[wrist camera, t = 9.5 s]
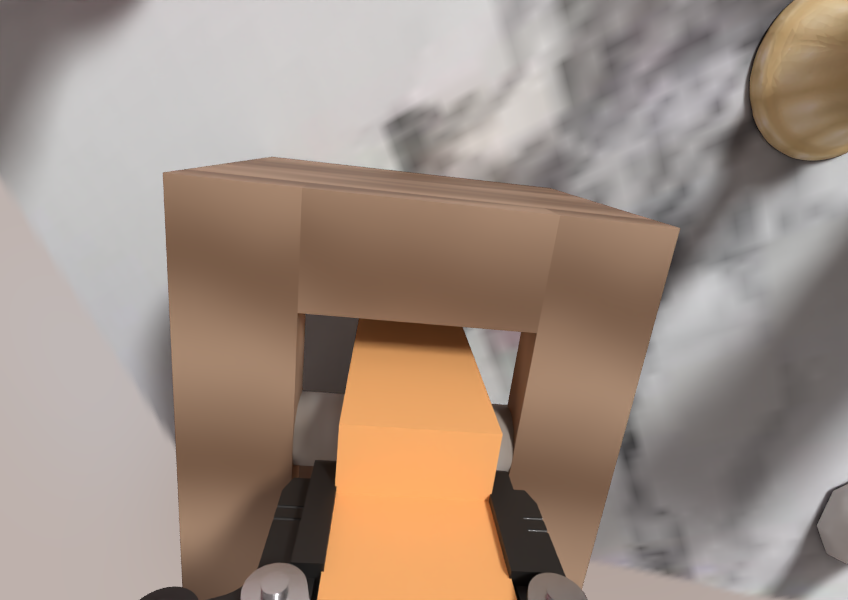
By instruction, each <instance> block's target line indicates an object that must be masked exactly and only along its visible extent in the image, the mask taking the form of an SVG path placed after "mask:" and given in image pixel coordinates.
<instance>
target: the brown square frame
mask: <svg viewBox="0 0 848 600" xmlns="http://www.w3.org/2000/svg"><path fill="white" fill-rule="evenodd" d="M163 187H164V208H165V229H166V250H167V271H168V292H169V313H170V334H171V355H172V376H173V397H174V418H175V439H176V459H177V481H178V500H179V501H178V502H179V521H180V522H179V523H180V543H181V564H182V585H183V588H187V589H189V590H191V591H192V592H193V593H195V595H196V596H197V597H198V600H207V599H211V598H215V597H219V596H222V595H226V594H228V593H231V592H233V591H235V590H237V589H238V588H240V587H241V586H243V584H244V583H245V581H246V579H247V578H248V577H249V576H250V575H251V574H252V573H253V572H254V571H256V570H257V568H258V565H259V562H260V559H261V556H262V553H263V549H264V546H265V543H266V540H267V537H268V534H269V530H270V527H271V524H272V521H273V519H274V514H275V511H276V508H277V505H278V502H279V498H280V495H281V492H282V490H283V489H284V488H285V486H286V485H287V484H288V483H289V482H290V481H291V480H292V479H293V478H311V475H312V471H313V466H314V462H315V460H329V461H337V449H338V434H339V422H340V417H341V412H342V406H343V401H344V396H345V394H341V393H326V392H312V391H302V387H303V363H304V339H305V315H306V314H315V315H327V316H339V317H351V318H362V319H374V320H386V321H398V322H410V323H422V324H434V325H446V326H458V327H470V328H482V329H494V330H506V331H518V332H521V336H520V341H519V346H518V352H517V357H516V363H515V368H514V373H513V379H512V384H511V390H510V395H509V400H508V405H500V404H492V407H493V410H494V412H495V415H496V418H497V420H498V423H499V426H500V428H501V431H502V434H503V436H502V441H501V446H500V452H499V457H498V463H497V468H496V470H501V471H507V472H508V475H509V477H510V480H511V483H512V486H513V489H514V490H525V491H526V492H527V493H528V494H529V495H530V496H531V498H532V499H533V500H534V501H535V502H536V503H537V505H538V508H539V510H540V513H541V515H542V520H543V521H544V523H545V525H546V528H547V533H549V535H550V538H551V540H552V543H553V545H554V548H555V551H556V553H557V556H558V558H559V561H560V563H561V566H562V568H563V571H564V573H565V576H566V577H567V578H568V579H570V580H572V581H573V582H574V583H576V584H577V585H578V586H579V587H580V588H581V590H582V586H583V583H584V579H585V575H586V572H587V568H588V564H589V561H590V557H591V553H592V550H593V546H594V542H595V539H596V535H597V531H598V528H599V524H600V520H601V517H602V513H603V509H604V506H605V502H606V498H607V495H608V491H609V487H610V484H611V480H612V476H613V473H614V469H615V465H616V462H617V458H618V454H619V451H620V447H621V443H622V440H623V436H624V432H625V429H626V425H627V421H628V418H629V414H630V410H631V407H632V403H633V399H634V396H635V392H636V388H637V385H638V381H639V377H640V374H641V370H642V366H643V363H644V359H645V355H646V352H647V348H648V344H649V341H650V337H651V333H652V330H653V326H654V322H655V319H656V315H657V311H658V308H659V304H660V300H661V297H662V293H663V289H664V286H665V282H666V278H667V275H668V271H669V267H670V264H671V260H672V256H673V253H674V249H675V245H676V242H677V238H678V234H679V231H680V228H678V227H675V226H671V225H668V224H665V223H662V222H658V221H655V220H652V219H649V218H645V217H642V216H639V215H636V214H632V213H629V212H626V211H622V210H619V209H616V208H613V207H609V206H606V205H603V204H600V203H596V202H593V201H590V200H587V199H583V198H580V197H577V196H574V195H570V194H567V193H564V192H561V191H557V190H554V189H551V188H544V187H535V186H526V185H517V184H508V183H499V182H490V181H482V180H473V179H464V178H455V177H446V176H437V175H428V174H419V173H411V172H402V171H393V170H384V169H375V168H366V167H357V166H348V165H340V164H331V163H322V162H313V161H304V160H295V159H286V158H277V157H268V158H261V159H254V160H247V161H240V162H233V163H226V164H219V165H212V166H205V167H198V168H191V169H184V170H178V171H171V172H164V173H163Z"/></svg>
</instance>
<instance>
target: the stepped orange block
mask: <svg viewBox="0 0 848 600" xmlns="http://www.w3.org/2000/svg"><path fill="white" fill-rule="evenodd" d="M502 436H503V434H502V431H501V428H500V426H499V423H498V420H497V418H496V415H495V412H494V410H493V407H492V404H491V402H490V399H489V396H488V394H487V391H486V388H485V386H484V383H483V380H482V378H481V375H480V372H479V370H478V367H477V364H476V362H475V359H474V356H473V354H472V351H471V348H470V346H469V343H468V340H467V338H466V335H465V332H464V330H463V327H458V326H446V325H434V324H422V323H410V322H398V321H386V320H374V319H362V318H359V321H358V326H357V332H356V337H355V342H354V348H353V353H352V358H351V364H350V369H349V374H348V380H347V385H346V390H345V396H344V401H343V406H342V412H341V417H340V422H339V434H338V449H337V464H336V478H335V486H337V488H336V497H335V504H334V510H333V517H332V523H331V529H330V536H329V542H328V548H327V555H326V561H325V567H324V572H321V579H320V585H319V591H318V597H317V600H517V597H516V594H515V590H514V586H513V583H512V579H509V575H508V571H507V568H506V564H505V560H504V556H503V553H502V549H501V545H500V541H499V538H498V534H497V530H496V526H495V523H494V519H493V515H492V511H491V508H490V504H489V497H490V494H492V490H493V484H494V479H495V473H496V468H497V463H498V457H499V452H500V446H501V441H502Z"/></svg>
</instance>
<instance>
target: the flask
mask: <svg viewBox="0 0 848 600" xmlns="http://www.w3.org/2000/svg"><path fill="white" fill-rule="evenodd" d="M817 528H818V531H819V533H820V536H821V539H822V542H823V545H824V548H825V551H826V553H827V554H828V555H830V556H832V557H834V558H836V559H838V560H840V561H842V562H844V563H846V564H848V484H847V485H845V486H842V487H840V488H838V489H836V490H834V491H833V492H832V494H831V497H830V499H829V501H828V503H827V505H826V507H825V509H824V511H823V513H822V516H821V518H820V520H819V522H818V524H817Z"/></svg>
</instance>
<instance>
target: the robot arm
mask: <svg viewBox="0 0 848 600" xmlns="http://www.w3.org/2000/svg"><path fill="white" fill-rule="evenodd" d="M336 464H337V461H329V460H315V462H314V466H313V471H312V475H311V478H293V479H292V480H291V481H290V482H289V483H288V484H287V485H286V486H285V488H284V489H283V490H282V492H281V495H280V498H279V502H278V505H277V508H276V511H275V514H274V519H273V521H272V524H271V527H270V530H269V534H268V537H267V540H266V543H265V546H264V549H263V553H262V556H261V559H260V562H259V565H258V568H257V570H256V571H254V572H253V573H252V574H251V575H250V576H249V577H248V578H247V579H246V581H245V583H244V584H243V586H241V587H240V588H238V589H237V590H235V591H233V592H231V593H228V594H226V595H222V596H219V597H215V598H211V599H207V600H317V597H318V591H319V585H320V579H321V572H324V567H325V561H326V555H327V548H328V542H329V536H330V529H331V523H332V517H333V510H334V504H335V497H336V488H337V486H335V478H336ZM489 504H490V508H491V511H492V515H493V519H494V523H495V526H496V530H497V534H498V538H499V541H500V545H501V549H502V553H503V556H504V560H505V564H506V568H507V571H508V575H509V579H512V583H513V586H514V590H515V594H516V597H517V600H587V597H586V595H585V594H584V592H583V591H582V590H581V588H580V587H579V586H578V585H577V584H576V583H574V582H573V581H572V580H570V579H568V578H567V577H566V576H565V573H564V571H563V568H562V566H561V563H560V561H559V558H558V556H557V553H556V551H555V548H554V545H553V543H552V540H551V538H550V535H549V533H547V528H546V525H545V523H544V521H543V520H542V515H541V513H540V510H539V508H538V505H537V503H536V502H535V501H534V500H533V499H532V498H531V496H530V495H529V494H528V493H527V492H526V491H525V490H514V489H513V486H512V483H511V480H510V477H509V475H508V472H507V471H501V470H496V473H495V479H494V484H493V490H492V494H490V497H489ZM140 600H198V597H197V596H196V595H195V593H193V592H192V591H191V590H189V589H187V588H183V587H167V588H163V589H159V590H156V591H154V592H151V593H149V594H148V595H146V596H144V597H143V598H141V599H140Z"/></svg>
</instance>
